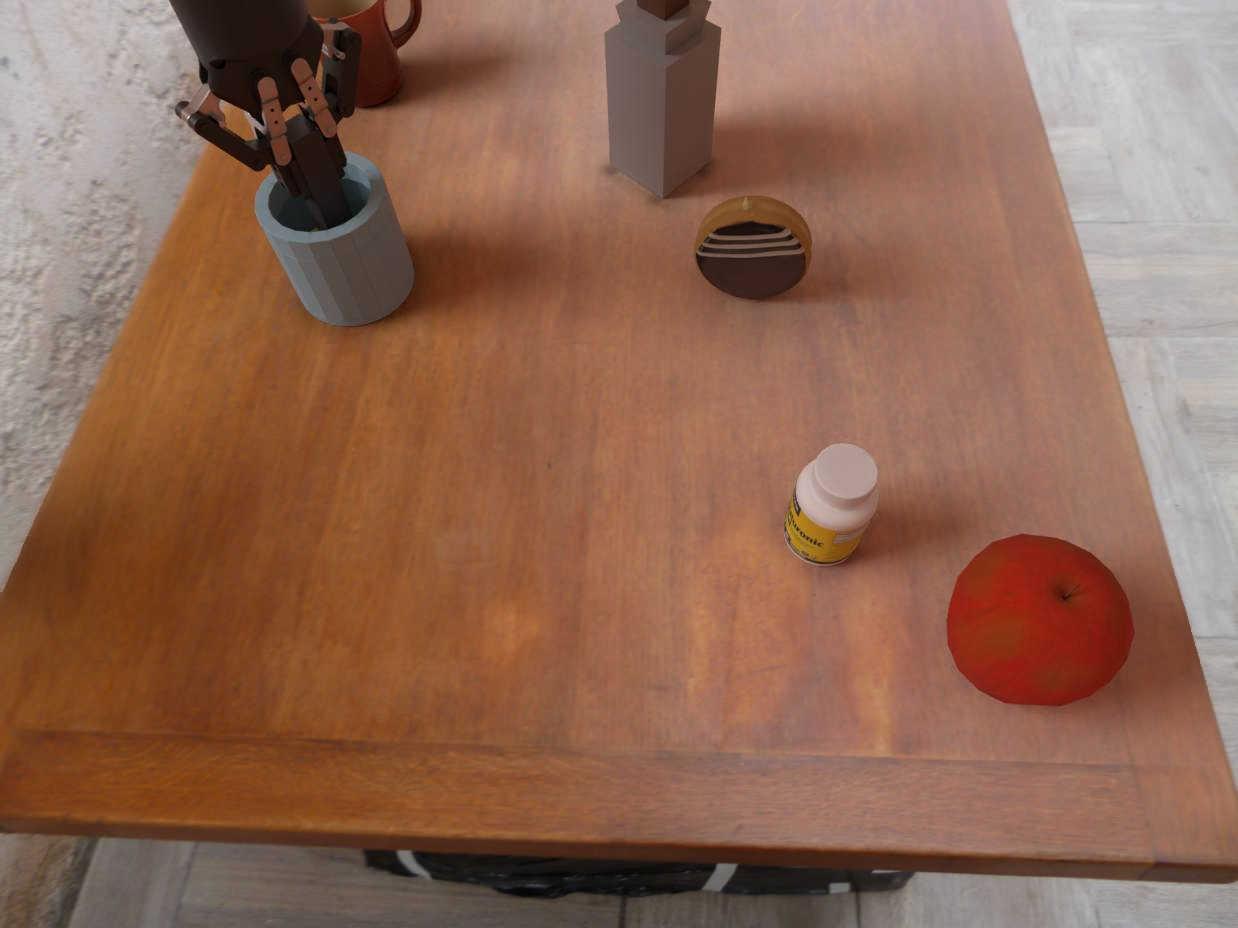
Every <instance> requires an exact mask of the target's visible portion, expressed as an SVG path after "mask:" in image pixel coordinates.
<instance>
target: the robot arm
mask: <svg viewBox="0 0 1238 928" xmlns="http://www.w3.org/2000/svg"><path fill="white" fill-rule="evenodd" d="M168 1H169V3H170V5H171V7H172V10H173V11H174V13H175V16H176V17H177V20H178V22H179V23H180V25H181V27H182V30H183V31H184V33H185V35H186V37H187V39H188V42H189V43H190V45H191V47H192V49H193V51H194V53H195V55H196V57H197V61H198V77H199V80H200V82H201V84H202V85H201V86H200V87H199V89H198V91H197V92H196V94H195V95H194V96H193V97H192V99H191V101H188V100H181V101H179V102H177V104H176V105H175V107H174V113H175V115H176V116H177V118H178V119H180V120H181V121H182V122H183V123H184V124H185V125H186V126H188V127H189V129H191V130H192V131H193V132H195V134H197V135H198V136H199V137H201V138H203V139H204V140H206V141H207V142H209V143H210V144H212V145H214V146H215V147H217V149H220V150H221V151H223V152H224V153H226V154H227V155H229V156H231V157H232V158H233V159H235V160H237V161H238V162H239V163H241V164H243V165H244V166H246V167H247V168H249V169H250V170H252V171H254V172H257V173H259V172H262V171H263V170H265V169H266V168H267V166H270V168H271V170H272V172H274V174H275V176H276V178H277V180H278V183H279V185H280V186H281V187H282V188H284V189H285V190H286V191H287V192H288V193H289V194H291V195H292V196H293V197H294V198H296V197H298V196H299V197H300V198H301V199H302V200H303V201H306V200H307V199H309V198H311V197H312V194H311V191H310V189H309V187H308V185H307V182H306V180H305V178H304V176H303V173H302V171H301V169H300V167H299V164H298V162H297V160H296V159H295V158H294V157H293V156H292V155H291V151H290V148H289V145H288V141H287V138H286V133H287V132H288V131H287V127H286V124H285V121H286V120H285V117H284V114H283V113H284V112H285V111H286V110H287V109H289V108H290V106H294V105H296V107H297V109H298V111H299V113H300V114H301V115H303V116H304V117H305V118H306V119H308V120H309V121H310V122H311V123H313V124H314V125H315V126H316V127H318V128H319V130H320V133H321V135H322V138H323V140H324V143H325V145H326V148H327V150H328V153H329V155H330V158H331V160H332V163H333V165H334V168H335V170H336V173H337V175H338V178H339V179H341V178H342V177H344V176H345V172H344V169H343V168H344V167H346V166H347V158H346V156H345V153H344V151H345V150H344V148H343V146H342V142H341V140H340V137H339V135H338V125H339V124H340V122H342V120H343V119H349V118H351V117H352V116H354V114H355V111H356V106H355V103H356V93H357V83H358V74H359V64H360V54H361V44H362V38H361V35H360V34H359V33H358V32H356V31H355V30H353V29H352V28H351V27H349V26H348V25H346V24H345V23H344V22H342V21H341V20H339V19H338V18H336V17H332V18H330V19H329V20H328V21H327V24H319V23H318V22H317V21H316V20H314V19H313V18H312V17H311V15H310V14H309V11H308V5H307V3H306V0H168ZM321 51H322V52H323V53H324V59H323V68H322V73H321V74H322V75H321V76H322V77H321V85H320V86H321V88H320V87H319V85H318V83H317V81H316V79H317V75H318V69H319V64H320V56H321ZM221 100H222V101H224V102H225V103H227V104H230V105H232V106H233V107H235V108H237V109H239V110H242V112H243V115H244V117H245V119H246V120H247V121H248V123H249V125H250V127H251V130H252V133H253V137H254V139H249V140H246V139H245V138H243V137H241V136H240V135H238V134H237V133H236V132H234V131H232V130H231V129H230V128H228V127H227V122H226V120H227V119H226V117H227V116H226V115H225V113H224V112H223V111H222V109H221V108H220V107H221V106H220V103H221Z"/></svg>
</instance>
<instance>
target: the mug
mask: <svg viewBox="0 0 1238 928" xmlns="http://www.w3.org/2000/svg"><path fill="white" fill-rule="evenodd" d="M387 1H388V0H306V3H307V5H308V11H309V14H310V15H311V17H312V18H313V19H314V20H316V21H317V22H318V23H319V24H327V21H328V20H329V19H330V18H332V17H336V18H338V19H339V20H341V21H342V22H344V23H345V24H346V25H348V26H349V27H351V28H352V29H353V30H355V31H356V32H358V33H359V34H360V35H361V38H362V44H361V54H360V64H359V74H358V83H357V93H356V103H355V107H361V108H363V107H364V108H365V107H372V106H377V105H380V104H383V103H384V102H386V101H388V100H389V99H391V97H393V96H394V95H395V94H396V92H397V91H398V90H399V89H400V86H401V83H402V67H401V59H400V57H399V55H398V50H399V49H400V48H402V47H403V46H405V45H406V44H407V43H408V42H409V41H410V39H411V38H412V37H413V36H414V34H415V33H416V32H417V30H418V29H419V26H420V23H421V20H422V14H423V0H409V13H408V16H407V18H406V20H405V22H404V23H403V24H402V25H401V26H399V27H398V28H396V29H393V30H391V29H390V26H389V21H388V16H387ZM323 59H324V53H323V52H322V51H321V56H320V61H319V63H320V65H321V68H322V69H323Z"/></svg>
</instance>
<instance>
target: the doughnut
mask: <svg viewBox="0 0 1238 928" xmlns="http://www.w3.org/2000/svg"><path fill="white" fill-rule="evenodd" d="M812 245H813V240H812V234H811V229H810V227H809V225H808V223H807V221H806V220H805V218H804V217H803V216H802V215H801V214H800V212H799V211H797V210H796V209H795V208H793V207H792V206H791V205H789V204H788V203H786V202H783V201H781V200H779V199H776V198H773V197H769V196H764V195H741V196H736V197H732V198H729V199H726V200H724V201H722V202H721V203H718V204H717V205H716V206H714V207H713V208H712V209H711V210H710V211H708V213H706V215H705V216H704V217H703V219H702V220H701V222H700V224H699V227H698V230H697V234H696V238H695V241H694V246H693V258H694V262H695V265H696V267H697V269H698V271H699V273H700V274H701V276H702V277H703V278H704V279H705V280H706V281H707V282H708V283H709V284H710V285H712V286H713V287H714V288H716V289H718V290H720V291H721V292H723V293H725V294H728V295H731V296H734V297H737V298H742V299H754V300H756V299H757V300H758V299H767V298H768V299H769V298H772V297H777V296H779V295H783V294H784V293H787V292H788V291H790V290H792V289H793V288H795V287H796V286H797V285H798V284H800V283H801V282H802V280H803V279H804V278H805V276H806V275H807V273H808V272H809V269H810V266H811V261H812V247H813V246H812Z"/></svg>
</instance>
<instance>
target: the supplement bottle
mask: <svg viewBox="0 0 1238 928" xmlns="http://www.w3.org/2000/svg"><path fill="white" fill-rule="evenodd" d="M879 472H880V471H879V467H878V464H877V462H876V460H875V458H874V457H873V455H872V454H870V453H869V452H868V451H867V450H865V448H863V447H861V446H859V445H856V444H852V443H849V442H847V443H846V442H842V443H840V442H839V443H834V444H830V445H829V446H827V447H824V449H822V450H821V452H819V454H818V455H817V457H816V458H815V459H814V460H812V461H810V462H809V463H808V464H806V466H804V467H803V469H802V470H801V472H800V473H799V476H798V477H797V480H796V483H795V486H794V489H793V492H792V495H791V498H790V501H789V504H788V507H787V510H786V513H785V516H784V517H785V518H784V520H783V528H782V529H783V537H784V540H785V543H786V545H787V547H788V548H789V550H790V551H791V553H793V555H795V556H796V557H797V558H798V559H799V560H801V561H803V562H805V563H807V564H809V565H813V566H816V567H830V566H837V565H838V564H840V563H842V562H844V561H846V560H847V559H848V558H849V557H850V556H851V555H852V554H853V553H854V552H855V550H856V549H857V547H858V545H859V543H860V541H861V539H862V538H863V536H864V534H865V532H866V530H867V528H868V526H869V524H870V523H871V521H872V519H873V517H874V515H875V513H876V511H877V509H878V507H879V503H880V487H879V483H878V481H879V477H880V475H879V474H880V473H879Z"/></svg>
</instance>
